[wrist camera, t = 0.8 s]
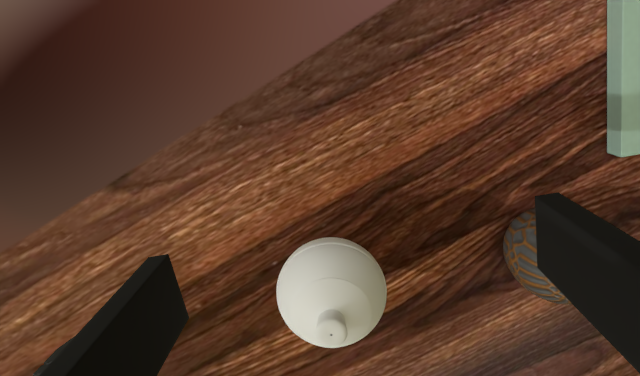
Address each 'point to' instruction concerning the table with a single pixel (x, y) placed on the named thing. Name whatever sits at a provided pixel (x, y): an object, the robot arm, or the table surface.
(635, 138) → the green push button box
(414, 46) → the table surface
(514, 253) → the vase
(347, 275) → the spinning top
